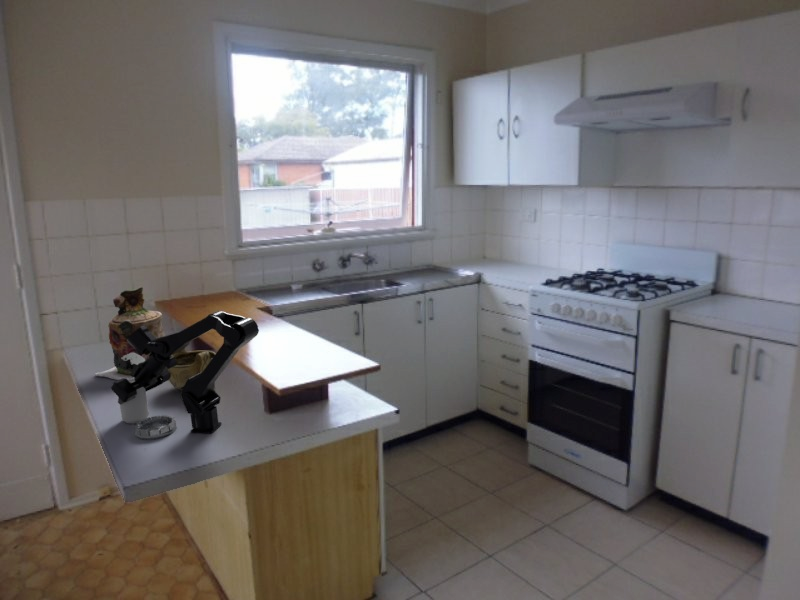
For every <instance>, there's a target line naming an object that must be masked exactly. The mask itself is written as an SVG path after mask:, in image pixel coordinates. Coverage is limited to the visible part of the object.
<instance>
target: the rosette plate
mask: <svg viewBox="0 0 800 600" xmlns="http://www.w3.org/2000/svg"><path fill="white" fill-rule="evenodd" d="M176 430H177V423H176V420H175V417H173V416H171V415H163V414H162V415H160V414H159V415H154V416H153V415H152V416H150V417H149V416H148V417H147V418H146V419H143V420H142V421H140V422H138V423H135V425H134V434H135V435H134V436H135V438H137V439H138V440H141V441H142V440H143V441H150V440H156V439H157V440H158V439H162V438H165V437H167V436H170V435H171V434H173V433H174V432H176Z"/></svg>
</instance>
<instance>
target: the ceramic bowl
mask: <svg viewBox="0 0 800 600" xmlns="http://www.w3.org/2000/svg"><path fill="white" fill-rule="evenodd" d="M185 348H186V347H185ZM185 348H184V349H183V350H182V351H179V352H177V353H175V354H173V355H172V357H175V359H176V361H177V365H176V366H174V367H172V368H170V369H168V368H167V367H166V369H167V370H168V371H169V372H170V374H171V377H170V378H169V380H168V382H169V383H170V385H172V387H174V388H175V389H177V390H180V391H182V390H183V389H181V388H182V387H183V386H184V385H185V383H186V381H187V380H188V379H189V378H191V377H193V376H195V375H197V374H199V373H200V372H203V371H204V369H205V368H206V366H207V365H208V364H209V362H210V361H211V360H212V358H213V357H214V356H215V354H216V353H217V352H214V351H212V350H190V351H187V350H186V349H185Z"/></svg>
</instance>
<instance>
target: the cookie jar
mask: <svg viewBox="0 0 800 600" xmlns="http://www.w3.org/2000/svg"><path fill="white" fill-rule="evenodd" d="M143 290H144V288H143V286H139V287H137V288H136V289H126V290H123V291H121V292H120V294H119V295H118V296H117V297H115V298H113V300H112V302H113V304H114V307H115V308H118V309H119V310H118V311H117V314H116V315H114V316H113V317H112V318H111V320H110V321H109V322H108V328H109V329H108V330H109V333H108V340H109V342H108V343H109V344H110V345H111V349H112V353H113V364H114V367H112V368H109V369H107V370H103V371H99V372H95V373H94V376H96V377H103V378H104V377H105V378H109V379H110V380H111V379H112V380H115V381H118V380H120V379H122V378H125V379H127V380H129V379H134V377H132V376H131V375H130V373H131V372H130V371H128V370H123V369H121V368H119V366H118V361H119V360H120V359H121V358H122V357H123V356H125V355H127V354H129V353H136V354H138V355H140V354H139V353H138V352H137V351H136V350H135V349H134V348H133V347H132V346H131V344H130V343H129V342H128V341H127V338H128V336H129V335H131V334H132V333H133V332H135V331H136V330H138V329H139V327H142V326H146V327H147V329H148V330H149V331H150V332H151V334H152V335H153V336H154V337H155V338H156V339H157V338H160V337H163V336H166V333H165V331H164V329H163V325H162V319H163V314H162V313H161V312H160V311H157V310H148V308H146V307H144V303H145V297H144V293H143ZM150 354H151V353H150ZM150 354H148V355H145V354H142V355H140V356H141V357H143V358H144V359H145V360H146V359H147V358H148V356H149V355H150Z"/></svg>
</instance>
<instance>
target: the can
mask: <svg viewBox="0 0 800 600" xmlns="http://www.w3.org/2000/svg"><path fill="white" fill-rule="evenodd" d="M128 381H129V382H130V383H133V382H135V380H134V379H129V380H128ZM119 409H120V414H121V420H122V421H123V422H125V423H126V424H137V423H138V422H140V421H142V420H143V419H146V418H149V416H150V412H149V404H148V399H147V391H146V390H145V388H144V387H142V388H140V389H138V390H137V395H136V396H135V398H133V399H132V400H130V401H127V402H125V403H123V404H121V405H120V404H119Z"/></svg>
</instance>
